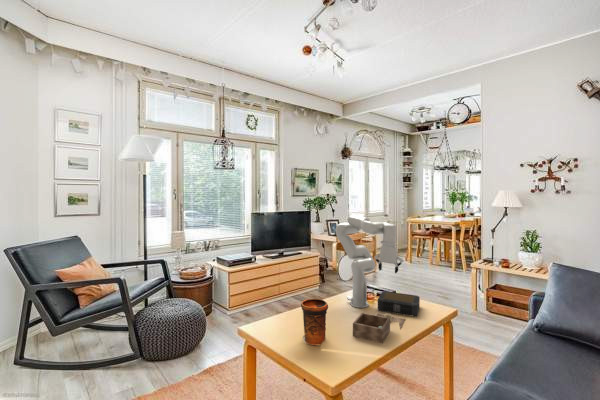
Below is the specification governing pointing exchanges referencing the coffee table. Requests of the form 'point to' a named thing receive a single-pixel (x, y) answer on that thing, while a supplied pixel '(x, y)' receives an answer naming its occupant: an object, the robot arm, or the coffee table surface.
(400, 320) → the lid
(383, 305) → the cash box
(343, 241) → the robot arm
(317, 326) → the vessel
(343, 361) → the coffee table surface
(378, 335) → the storage box
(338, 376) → the coffee table surface
